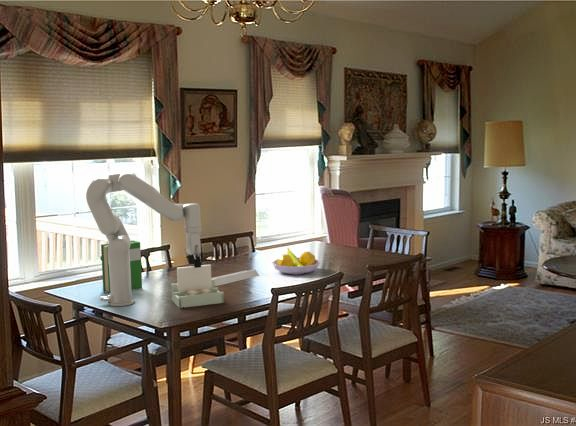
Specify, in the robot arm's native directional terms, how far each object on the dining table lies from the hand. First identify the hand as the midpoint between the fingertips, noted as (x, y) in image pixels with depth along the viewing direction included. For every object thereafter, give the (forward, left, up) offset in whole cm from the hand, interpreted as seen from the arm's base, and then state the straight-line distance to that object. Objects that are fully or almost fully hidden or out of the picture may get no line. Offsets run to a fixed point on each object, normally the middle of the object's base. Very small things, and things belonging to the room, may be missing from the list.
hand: (195, 265), depth 316 cm
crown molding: (+29, +34, -17) cm, 48 cm away
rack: (-1, -4, -16) cm, 17 cm away
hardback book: (-29, +36, -17) cm, 48 cm away
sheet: (-1, 0, -16) cm, 16 cm away
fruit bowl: (+67, +36, -17) cm, 78 cm away
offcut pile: (0, -7, -17) cm, 18 cm away
